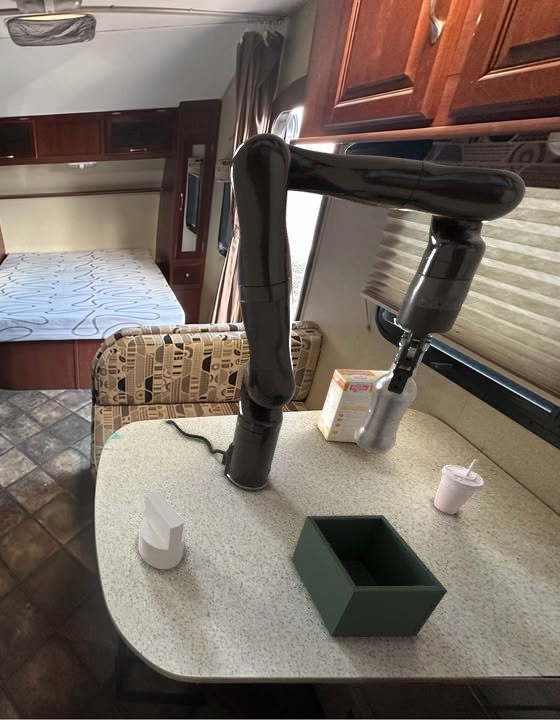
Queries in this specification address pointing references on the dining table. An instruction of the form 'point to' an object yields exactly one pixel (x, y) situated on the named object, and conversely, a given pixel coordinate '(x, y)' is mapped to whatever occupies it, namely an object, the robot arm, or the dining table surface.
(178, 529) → the base with upright slab
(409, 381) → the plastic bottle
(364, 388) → the coffeecake box
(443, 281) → the robot arm
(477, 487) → the smoothie
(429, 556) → the dining table surface
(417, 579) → the trash bin
